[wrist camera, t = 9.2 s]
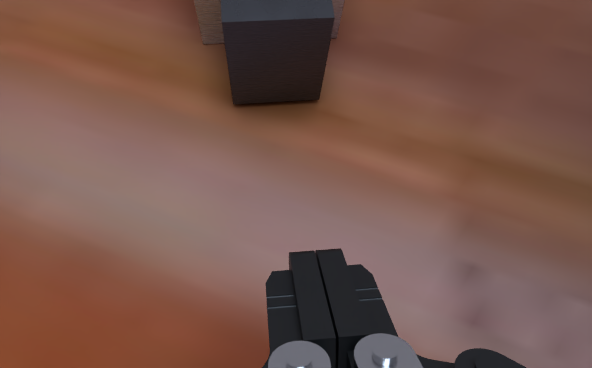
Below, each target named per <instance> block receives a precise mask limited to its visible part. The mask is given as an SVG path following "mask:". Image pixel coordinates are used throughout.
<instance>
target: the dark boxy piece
mask: <svg viewBox="0 0 592 368" xmlns="http://www.w3.org/2000/svg"><path fill="white" fill-rule="evenodd" d="M221 19H222V28H223V35H224V42H225V49H226V56H227V63H228V70H229V77H230V84H231V91H232V98H233V104H247V103H265V102H283V101H300V100H318V99H319V98H320V92H321V87H322V82H323V77H324V71H325V66H326V61H327V56H328V50H329V45H330V40H331V34H332V29H333V24H334V19H335V16H334V9H333V3H332V0H221Z"/></svg>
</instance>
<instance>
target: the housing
mask: <svg viewBox="0 0 592 368" xmlns="http://www.w3.org/2000/svg"><path fill="white" fill-rule="evenodd" d="M344 1H345V0H332V3H333V9H334V16H335V19H334V24H333V29H332V34H331V38H337V34H338V29H339V25H340V20H341V15H342V10H343V5H344ZM194 4H195V8H196V13H197V18H198V23H199V27H200V32H201V37H202V41H203V44H218V43H225V42H224V35H223V28H222V19H221V0H194Z"/></svg>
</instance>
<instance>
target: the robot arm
mask: <svg viewBox="0 0 592 368" xmlns="http://www.w3.org/2000/svg"><path fill="white" fill-rule="evenodd" d="M266 297H267V313H268V329H269V344H270V354H269V358H268V360H267V362H266V363H265V365H264V366H263V367H262V368H526V367H524V366H522V365H520V364H519V363H517V362H515V361H513V360H511V359H509V358H507V357H506V356H504V355H502V354H500V353H497V352H495V351H492V350H488V349H481V348H479V349H469V350H466V351H464V352H462V353H461V354H459V355H458V357H457V358H456V360H455V363H449V362H443V361H437V360H431V359H427V358H424V357H421V356H419V355H417V354H415V352H414V350H413V349H412V347H411V346H410V345H409V344H408V343H407V342H406V341H404V340H403V339H401V338H399V337H398V335H397V332H396V330H395V328H394V325H393V323H392V320H391V318H390V316H389V313H388V311H387V308H386V306H385V304H384V301H383V300H382V296H381V294H380V292H379V289H378V287H377V284H376V282H375V280H374V277H373V275H372V274H371V273H370V272H369V271H368V270H367V269H365V268H364V267H363V266H362V265H361V264H360V265H347V264H346V261H345V258H344V255H343V252H342V250H341V249H328V250H316V251H315V252H314V251H302V252H289V270H284V271H272V273H271V275H270V276H269V278H268V280H267V282H266Z"/></svg>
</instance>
